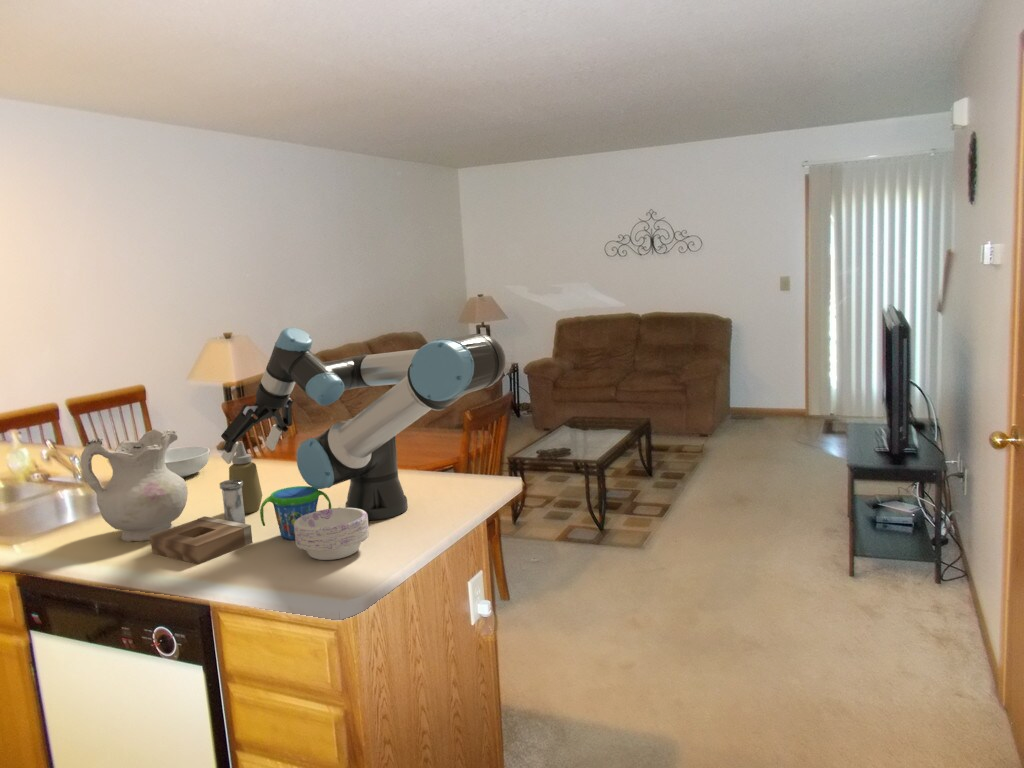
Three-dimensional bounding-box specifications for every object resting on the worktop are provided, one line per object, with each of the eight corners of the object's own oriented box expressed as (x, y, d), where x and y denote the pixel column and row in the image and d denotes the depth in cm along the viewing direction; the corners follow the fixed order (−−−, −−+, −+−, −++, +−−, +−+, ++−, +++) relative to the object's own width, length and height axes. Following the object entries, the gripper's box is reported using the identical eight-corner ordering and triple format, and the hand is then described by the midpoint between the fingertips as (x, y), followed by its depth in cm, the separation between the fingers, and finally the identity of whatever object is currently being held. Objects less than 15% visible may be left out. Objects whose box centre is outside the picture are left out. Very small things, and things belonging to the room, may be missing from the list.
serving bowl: (151, 470, 251) (148, 449, 250) (219, 465, 253) (217, 444, 252) (127, 488, 231) (124, 465, 230) (201, 482, 233) (198, 459, 232)
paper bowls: (325, 537, 177) (322, 503, 176) (384, 543, 171) (381, 508, 170) (281, 562, 163) (277, 525, 162) (343, 569, 158) (340, 531, 156)
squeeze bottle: (253, 516, 196) (246, 445, 194) (224, 515, 198) (216, 445, 195) (269, 506, 204) (262, 438, 202) (241, 505, 206) (233, 438, 203)
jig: (252, 542, 177) (250, 525, 176) (198, 564, 165) (196, 545, 164) (206, 533, 185) (204, 516, 184) (152, 553, 173) (149, 535, 173)
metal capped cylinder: (252, 525, 189) (247, 480, 188) (234, 531, 185) (229, 486, 183) (237, 522, 192) (232, 478, 190) (219, 528, 188) (214, 484, 186)
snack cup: (333, 523, 187) (329, 482, 185) (333, 538, 177) (329, 494, 175) (264, 532, 184) (260, 489, 182) (261, 547, 173) (256, 502, 172)
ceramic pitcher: (125, 560, 173) (117, 450, 169) (71, 542, 182) (62, 437, 178) (206, 529, 192) (201, 429, 187) (154, 515, 201) (147, 419, 196)
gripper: (304, 369, 199) (277, 433, 209) (223, 386, 178) (196, 456, 188) (323, 387, 197) (295, 451, 206) (243, 406, 176) (215, 476, 185)
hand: (248, 453), depth 197 cm, fingers open, 13 cm apart
